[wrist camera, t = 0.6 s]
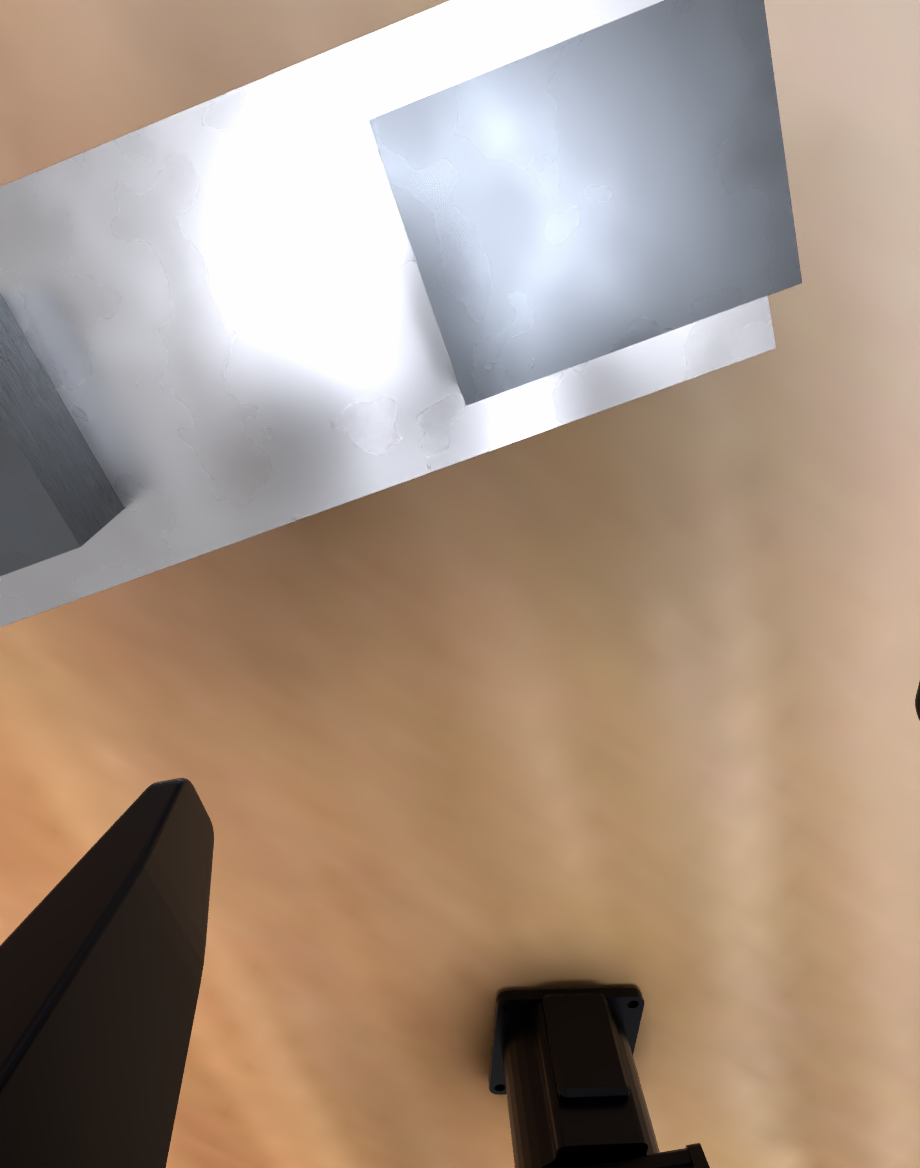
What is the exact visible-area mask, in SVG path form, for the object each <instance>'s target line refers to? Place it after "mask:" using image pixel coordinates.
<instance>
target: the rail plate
mask: <svg viewBox="0 0 920 1168" xmlns="http://www.w3.org/2000/svg"><path fill="white" fill-rule="evenodd" d="M800 283H802V280H801V272H800V265H799V257H798V250H797V243H796V235H795V228H794V220H793V213H792V206H791V198H790V191H789V184H788V176H787V169H786V161H785V154H784V147H783V139H782V132H781V124H780V117H779V110H778V102H777V95H776V87H775V80H774V73H773V65H772V58H771V51H770V43H769V36H768V28H767V21H766V14H765V6H764V0H450V1H447V2H445V3H442V4H440V5H438V6H435V7H433V8H430V9H428V10H426V11H423V12H421V13H418V14H416V15H414V16H411V17H409V18H406V19H404V20H401V21H399V22H397V23H394V24H392V25H389V26H387V27H385V28H382V29H380V30H377V31H375V32H373V33H370V34H368V35H365V36H363V37H360V38H358V39H356V40H353V41H351V42H348V43H346V44H344V45H341V46H339V47H336V48H334V49H332V50H329V51H327V52H324V53H322V54H320V55H317V56H315V57H312V58H310V59H307V60H305V61H303V62H300V63H298V64H295V65H293V66H291V67H288V68H286V69H283V70H281V71H279V72H276V73H274V74H271V75H269V76H266V77H264V78H262V79H259V80H257V81H254V82H252V83H250V84H247V85H245V86H242V87H240V88H238V89H235V90H233V91H230V92H228V93H225V94H223V95H221V96H218V97H216V98H213V99H211V100H209V101H206V102H204V103H201V104H199V105H197V106H194V107H192V108H189V109H187V110H185V111H182V112H180V113H177V114H175V115H172V116H170V117H168V118H165V119H163V120H160V121H158V122H156V123H153V124H151V125H148V126H146V127H144V128H141V129H139V130H136V131H134V132H131V133H129V134H127V135H124V136H122V137H119V138H117V139H115V140H112V141H110V142H107V143H105V144H103V145H100V146H98V147H95V148H93V149H90V150H88V151H86V152H83V153H81V154H78V155H76V156H74V157H71V158H69V159H66V160H64V161H62V162H59V163H57V164H54V165H52V166H49V167H47V168H45V169H42V170H40V171H37V172H35V173H33V174H30V175H28V176H25V177H23V178H21V179H18V180H16V181H13V182H11V183H9V184H6V185H4V186H1V187H0V627H2V626H5V625H8V624H10V623H13V622H16V621H19V620H22V619H24V618H27V617H30V616H33V615H35V614H38V613H41V612H44V611H47V610H49V609H52V608H55V607H58V606H60V605H63V604H66V603H69V602H72V601H74V600H77V599H80V598H83V597H85V596H88V595H91V594H94V593H97V592H99V591H102V590H105V589H108V588H111V587H113V586H116V585H119V584H122V583H124V582H127V581H130V580H133V579H136V578H138V577H141V576H144V575H147V574H149V573H152V572H155V571H158V570H161V569H163V568H166V567H169V566H172V565H174V564H177V563H180V562H183V561H186V560H188V559H191V558H194V557H197V556H199V555H202V554H205V553H208V552H211V551H213V550H216V549H219V548H222V547H224V546H227V545H230V544H233V543H236V542H238V541H241V540H244V539H247V538H250V537H252V536H255V535H258V534H261V533H263V532H266V531H269V530H272V529H275V528H277V527H280V526H283V525H286V524H288V523H291V522H294V521H297V520H300V519H302V518H305V517H308V516H311V515H313V514H316V513H319V512H322V511H325V510H327V509H330V508H333V507H336V506H338V505H341V504H344V503H347V502H350V501H352V500H355V499H358V498H361V497H363V496H366V495H369V494H372V493H375V492H377V491H380V490H383V489H386V488H389V487H391V486H394V485H397V484H400V483H402V482H405V481H408V480H411V479H414V478H416V477H419V476H422V475H425V474H427V473H430V472H433V471H436V470H439V469H441V468H444V467H447V466H450V465H452V464H455V463H458V462H461V461H464V460H466V459H469V458H472V457H475V456H477V455H480V454H483V453H486V452H489V451H491V450H494V449H497V448H500V447H502V446H505V445H508V444H511V443H514V442H516V441H519V440H522V439H525V438H528V437H530V436H533V435H536V434H539V433H541V432H544V431H547V430H550V429H553V428H555V427H558V426H561V425H564V424H566V423H569V422H572V421H575V420H578V419H580V418H583V417H586V416H589V415H591V414H594V413H597V412H600V411H603V410H605V409H608V408H611V407H614V406H616V405H619V404H622V403H625V402H628V401H630V400H633V399H636V398H639V397H641V396H644V395H647V394H650V393H653V392H655V391H658V390H661V389H664V388H667V387H669V386H672V385H675V384H678V383H680V382H683V381H686V380H689V379H692V378H694V377H697V376H700V375H703V374H705V373H708V372H711V371H714V370H717V369H719V368H722V367H725V366H728V365H730V364H733V363H736V362H739V361H742V360H744V359H747V358H750V357H753V356H755V355H758V354H761V353H764V352H767V351H769V350H772V349H775V348H776V346H775V340H774V333H773V327H772V320H771V314H770V307H769V301H768V295H770V294H773V293H776V292H779V291H781V290H784V289H787V288H790V287H792V286H795V285H798V284H800Z"/></svg>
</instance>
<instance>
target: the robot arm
mask: <svg viewBox="0 0 920 1168" xmlns="http://www.w3.org/2000/svg"><path fill="white" fill-rule="evenodd" d="M915 707H916V712H917V715H918V718H919V720H920V682H919V686H918V690H917V694H916V699H915ZM213 847H214V832H213V826H212V822H211V820H210V818H209V816H208V814H207V812H206V810H205V808H204V806H203V804H202V802H201V800H200V798H199V796H198V794H197V792H196V790H195V788H194V786H193V785H192V783H191V782H190V781H189V780H188V779H185V778H178V779H172V780H167V781H161V782H156V783H154V784H152V785H150V786H149V787H148V788H147V789H146V790H145V791H144V792H143V793H142V794H141V795H140V796H139V797H138V799H137V800H136V801H135V802H134V803H133V804H132V805H131V806H130V807H129V808H128V809H127V810H126V811H125V812H124V814H123V815H122V816H121V817H120V818H119V819H118V820H117V821H116V822H115V823H114V824H113V825H112V826H111V827H110V829H109V830H108V831H107V832H106V833H105V834H104V835H103V836H102V837H101V838H100V839H99V840H98V841H97V843H96V844H95V845H94V846H93V847H92V848H91V849H90V850H89V851H88V852H87V853H86V854H85V855H84V856H83V858H82V859H81V860H80V861H79V862H78V863H77V864H76V865H75V866H74V867H73V868H72V869H71V870H70V871H69V873H68V874H67V875H66V876H65V877H64V878H63V879H62V880H61V881H60V882H59V883H58V884H57V885H56V886H55V888H54V889H53V890H52V891H51V892H50V893H49V894H48V895H47V896H46V897H45V898H44V899H43V900H42V901H41V903H40V904H39V905H38V906H37V907H36V908H35V909H34V910H33V911H32V912H31V913H30V914H29V915H28V916H27V918H26V919H25V920H24V921H23V922H22V923H21V924H20V925H19V926H18V927H17V928H16V929H15V930H14V932H13V933H12V934H11V935H10V936H9V937H8V938H7V939H6V940H5V941H4V942H3V943H2V944H1V945H0V1168H166V1162H167V1157H168V1152H169V1147H170V1141H171V1136H172V1131H173V1125H174V1120H175V1115H176V1110H177V1104H178V1099H179V1094H180V1089H181V1083H182V1078H183V1073H184V1068H185V1062H186V1057H187V1052H188V1047H189V1041H190V1036H191V1031H192V1025H193V1020H194V1015H195V1010H196V1004H197V999H198V994H199V989H200V983H201V977H202V971H203V965H204V956H205V946H206V935H207V922H208V910H209V897H210V884H211V872H212V859H213ZM643 1007H644V1000H643V996H642V993H641V992H640V990H638V989H635V988H620V989H580V990H540V991H507V992H503V993H501V994H500V995H499V996H498V997H497V999H496V1009H495V1019H494V1029H493V1039H492V1049H491V1059H490V1069H489V1089H490V1091H491V1092H492V1093H494V1094H499V1095H500V1094H507V1101H508V1110H509V1119H510V1127H511V1136H512V1145H513V1153H514V1162H515V1168H710V1167H709V1165H708V1162H707V1160H706V1157H705V1155H704V1152H703V1150H702V1147H701V1145H700V1143H697V1144H691V1145H686V1148H685V1149H679V1150H673V1151H667V1152H661V1153H660V1152H659V1148H658V1145H657V1141H656V1138H655V1134H654V1130H653V1127H652V1123H651V1120H650V1116H649V1113H648V1109H647V1105H646V1102H645V1098H644V1095H643V1091H642V1088H641V1084H640V1080H639V1077H638V1073H637V1070H636V1066H635V1062H634V1059H633V1052H634V1047H635V1043H636V1038H637V1034H638V1029H639V1025H640V1020H641V1016H642V1011H643Z"/></svg>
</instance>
